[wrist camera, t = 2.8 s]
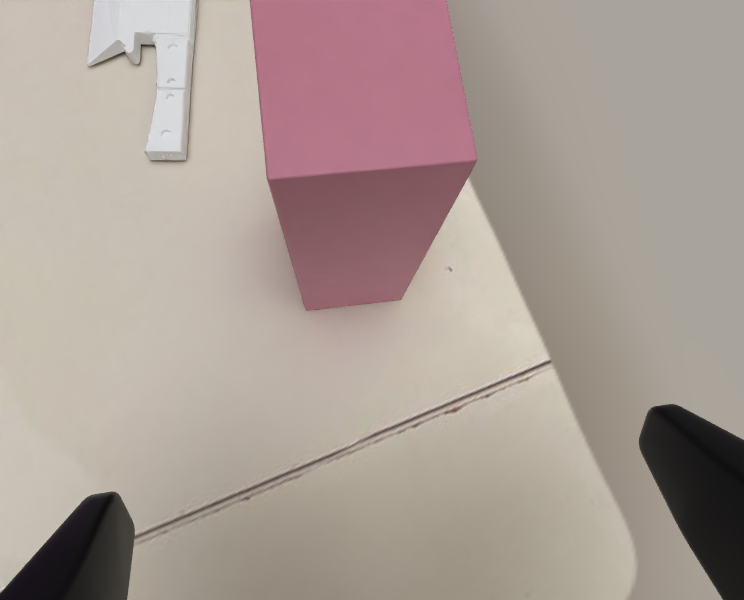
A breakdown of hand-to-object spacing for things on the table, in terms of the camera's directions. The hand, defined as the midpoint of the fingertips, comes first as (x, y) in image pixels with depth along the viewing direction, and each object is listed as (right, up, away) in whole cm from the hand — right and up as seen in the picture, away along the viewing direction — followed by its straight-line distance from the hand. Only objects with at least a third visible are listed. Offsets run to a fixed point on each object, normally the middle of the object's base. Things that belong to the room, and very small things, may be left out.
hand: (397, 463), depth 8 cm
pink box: (-2, +5, +15) cm, 16 cm away
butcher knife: (-12, +17, +17) cm, 27 cm away
